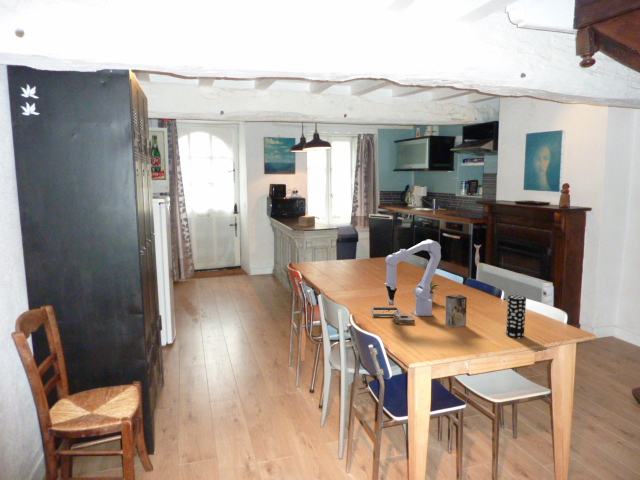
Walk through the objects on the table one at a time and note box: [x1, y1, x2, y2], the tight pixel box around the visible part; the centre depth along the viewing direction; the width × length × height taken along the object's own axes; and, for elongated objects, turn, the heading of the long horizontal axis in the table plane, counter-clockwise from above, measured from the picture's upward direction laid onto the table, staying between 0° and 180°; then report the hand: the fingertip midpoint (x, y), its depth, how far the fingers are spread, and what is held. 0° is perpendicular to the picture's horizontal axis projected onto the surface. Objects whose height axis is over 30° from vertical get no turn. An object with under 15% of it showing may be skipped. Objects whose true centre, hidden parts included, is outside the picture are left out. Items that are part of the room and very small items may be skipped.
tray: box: [370, 306, 402, 317], centre depth 272 cm, size 16×14×2 cm
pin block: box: [393, 313, 416, 325], centre depth 258 cm, size 10×10×2 cm
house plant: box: [429, 278, 440, 303], centre depth 296 cm, size 14×14×16 cm
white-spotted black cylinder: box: [505, 294, 527, 339], centre depth 233 cm, size 8×8×20 cm
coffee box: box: [445, 294, 468, 328], centre depth 250 cm, size 9×6×16 cm
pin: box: [388, 298, 395, 306], centre depth 266 cm, size 4×4×8 cm
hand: (391, 298), depth 267 cm, fingers closed on pin, 4 cm apart
